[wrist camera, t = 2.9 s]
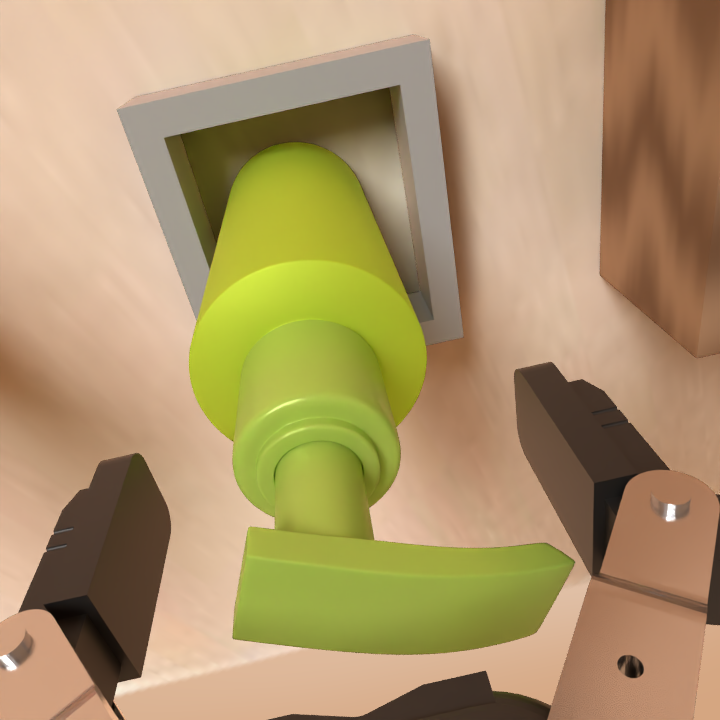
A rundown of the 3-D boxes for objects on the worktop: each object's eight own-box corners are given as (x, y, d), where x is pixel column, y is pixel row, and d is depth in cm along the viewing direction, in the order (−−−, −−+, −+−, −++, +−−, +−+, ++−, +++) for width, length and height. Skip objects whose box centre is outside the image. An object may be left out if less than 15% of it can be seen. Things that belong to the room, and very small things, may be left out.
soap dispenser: (371, 288, 28) (509, 725, 11) (221, 265, 27) (120, 723, 10) (402, 161, 26) (648, 490, 8) (236, 128, 24) (131, 441, 7)
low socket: (134, 96, 23) (116, 109, 21) (412, 34, 23) (429, 38, 21) (228, 356, 29) (223, 391, 27) (447, 307, 29) (463, 337, 27)
